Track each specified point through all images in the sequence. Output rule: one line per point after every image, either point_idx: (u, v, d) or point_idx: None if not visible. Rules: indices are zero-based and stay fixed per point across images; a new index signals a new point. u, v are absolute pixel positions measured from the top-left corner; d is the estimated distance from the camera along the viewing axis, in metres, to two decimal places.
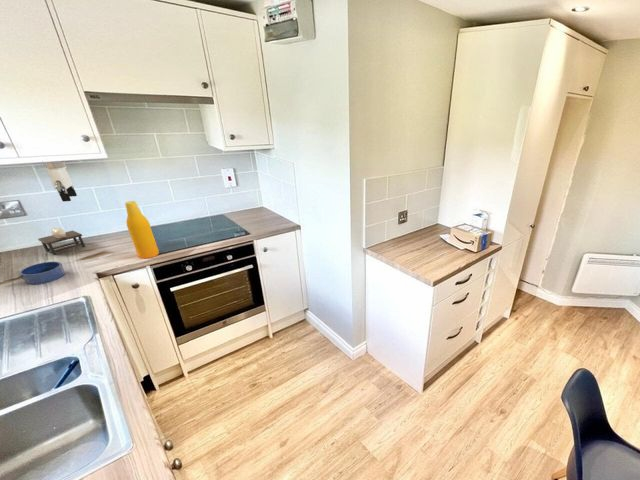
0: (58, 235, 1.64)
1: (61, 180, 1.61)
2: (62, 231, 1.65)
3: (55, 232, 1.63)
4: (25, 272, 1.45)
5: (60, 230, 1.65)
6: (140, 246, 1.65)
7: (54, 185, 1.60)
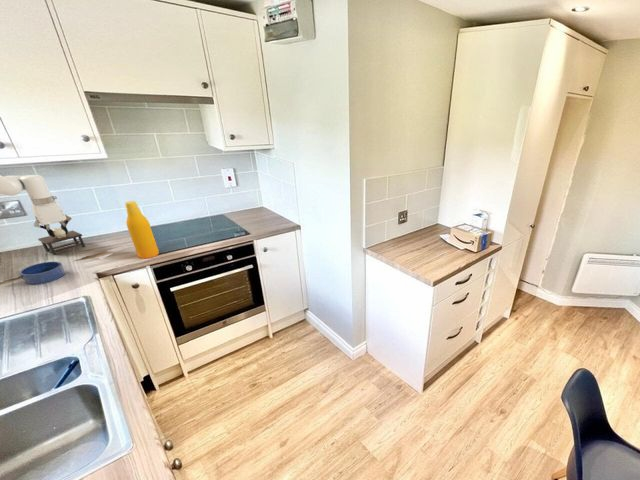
0: (58, 235, 1.64)
1: (37, 216, 1.57)
2: (62, 231, 1.65)
3: (55, 232, 1.63)
4: (25, 272, 1.45)
5: (60, 230, 1.65)
6: (140, 246, 1.65)
7: (36, 219, 1.59)
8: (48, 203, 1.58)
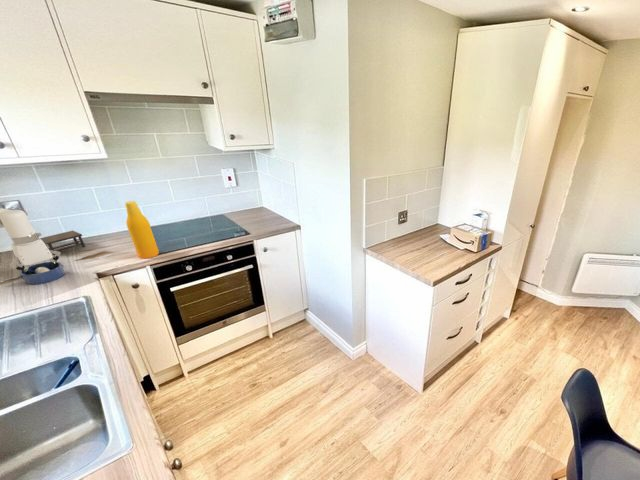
0: None
1: (18, 257, 1.38)
2: None
3: None
4: None
5: (45, 270, 1.45)
6: (140, 246, 1.65)
7: None
8: (31, 242, 1.38)
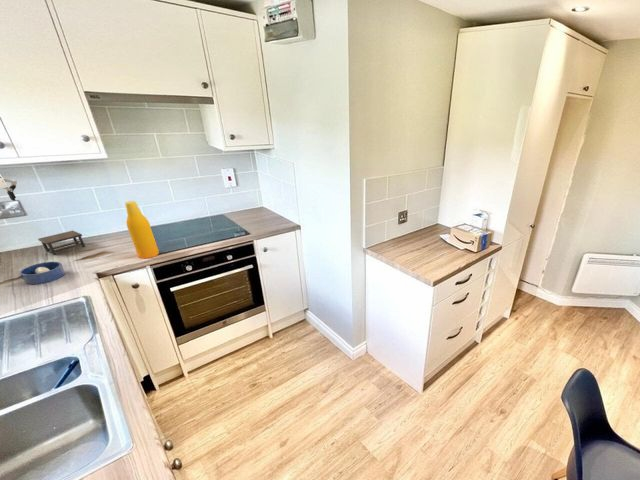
0: None
1: None
2: None
3: None
4: (25, 272, 1.45)
5: (45, 270, 1.45)
6: (140, 246, 1.65)
7: None
8: None
